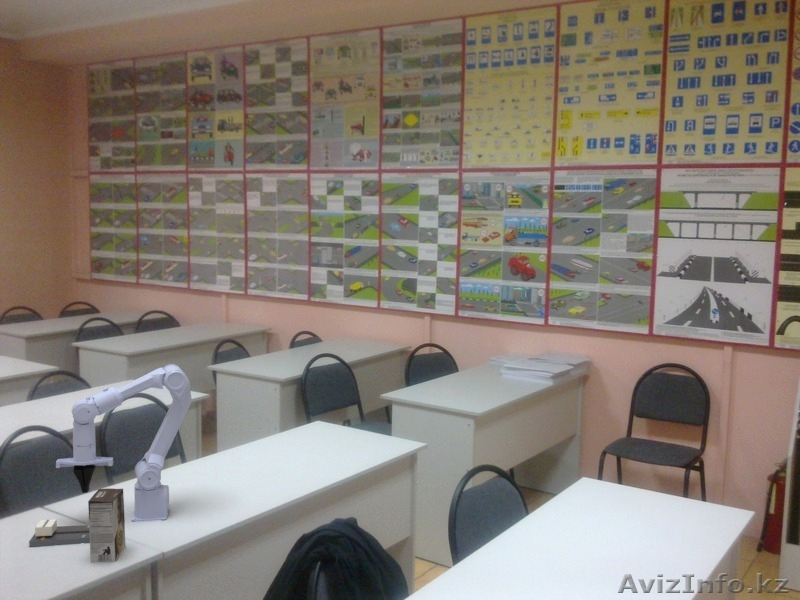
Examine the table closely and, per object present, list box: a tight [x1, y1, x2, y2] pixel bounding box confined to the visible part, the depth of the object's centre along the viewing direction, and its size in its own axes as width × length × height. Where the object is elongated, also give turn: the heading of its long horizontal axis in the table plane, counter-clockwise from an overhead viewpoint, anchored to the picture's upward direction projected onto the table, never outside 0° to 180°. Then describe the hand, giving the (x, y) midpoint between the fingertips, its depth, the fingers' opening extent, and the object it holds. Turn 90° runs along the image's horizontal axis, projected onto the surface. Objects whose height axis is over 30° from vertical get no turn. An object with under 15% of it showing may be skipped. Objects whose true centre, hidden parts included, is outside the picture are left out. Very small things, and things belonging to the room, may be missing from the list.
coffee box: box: [87, 488, 126, 564], centre depth 190 cm, size 9×6×16 cm
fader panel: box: [28, 524, 90, 548], centre depth 201 cm, size 16×9×2 cm, turn 100°
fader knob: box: [34, 519, 58, 536], centre depth 200 cm, size 4×5×2 cm
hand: (85, 491), depth 210 cm, fingers closed
